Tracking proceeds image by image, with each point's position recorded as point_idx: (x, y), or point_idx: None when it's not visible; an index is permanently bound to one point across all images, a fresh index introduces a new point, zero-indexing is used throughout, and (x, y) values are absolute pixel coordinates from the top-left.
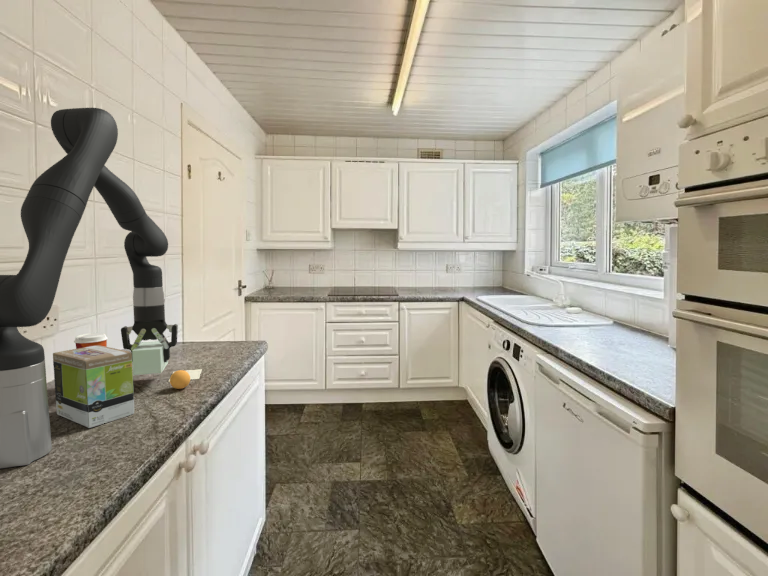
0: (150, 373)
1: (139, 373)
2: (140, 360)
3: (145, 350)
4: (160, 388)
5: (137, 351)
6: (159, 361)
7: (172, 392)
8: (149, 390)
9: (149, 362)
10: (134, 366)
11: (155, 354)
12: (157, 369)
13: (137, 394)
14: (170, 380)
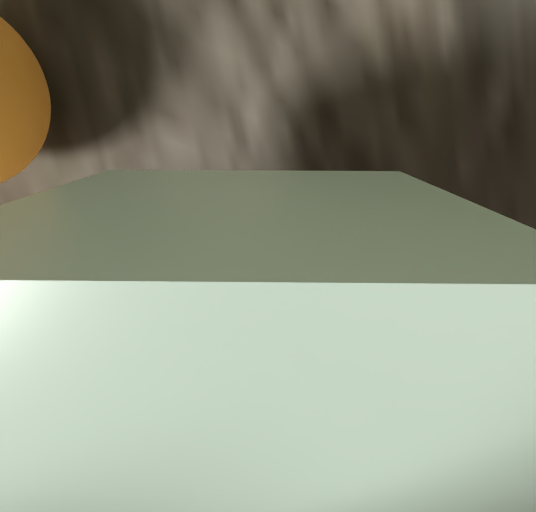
0: (220, 172)
1: (337, 171)
2: (349, 208)
3: (245, 277)
4: (170, 163)
5: (480, 272)
6: (49, 197)
7: (41, 8)
8: (246, 137)
9: (205, 195)
10: (418, 187)
11: (33, 227)
12: (131, 178)
13: (321, 54)
14: (9, 41)
